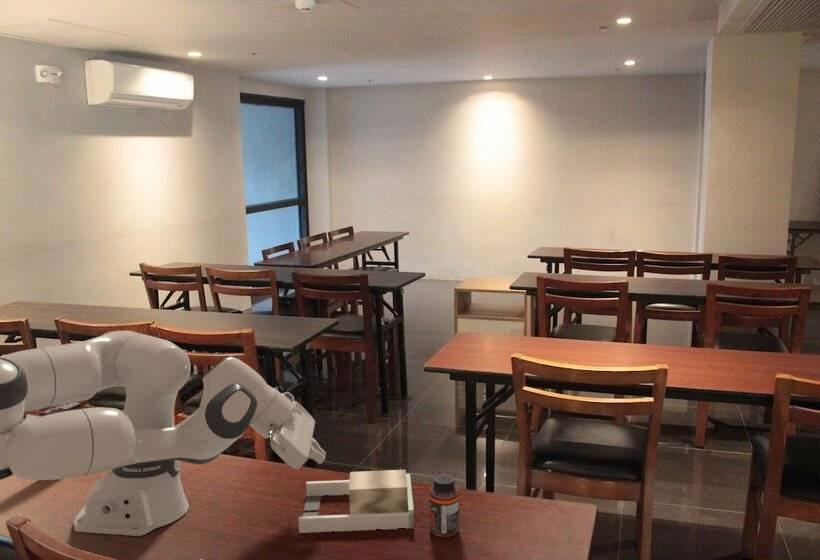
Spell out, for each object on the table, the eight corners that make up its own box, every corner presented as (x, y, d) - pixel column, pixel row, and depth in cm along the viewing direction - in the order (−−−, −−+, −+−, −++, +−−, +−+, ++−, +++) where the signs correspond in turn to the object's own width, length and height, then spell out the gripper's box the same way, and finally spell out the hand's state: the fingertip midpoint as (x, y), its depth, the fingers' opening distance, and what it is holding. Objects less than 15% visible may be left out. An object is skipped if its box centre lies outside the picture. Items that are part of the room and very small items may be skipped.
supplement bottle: (424, 527, 139) (423, 474, 137) (450, 520, 141) (450, 469, 139) (437, 542, 134) (436, 487, 131) (464, 535, 136) (464, 481, 134)
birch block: (350, 521, 142) (349, 489, 141) (351, 501, 150) (350, 472, 149) (408, 518, 143) (407, 487, 142) (406, 499, 151) (405, 469, 149)
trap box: (299, 532, 138) (298, 514, 137) (307, 494, 153) (306, 477, 153) (413, 528, 139) (413, 509, 138) (410, 490, 154) (409, 473, 154)
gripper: (277, 425, 131) (331, 470, 134) (289, 389, 151) (335, 429, 154) (255, 448, 132) (309, 493, 134) (270, 409, 152) (316, 448, 154)
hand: (323, 458), depth 144 cm, fingers closed
